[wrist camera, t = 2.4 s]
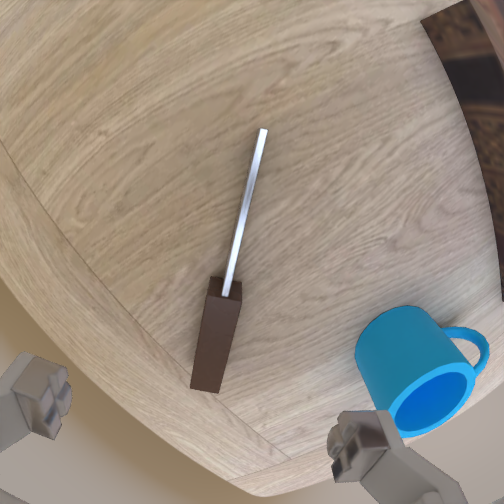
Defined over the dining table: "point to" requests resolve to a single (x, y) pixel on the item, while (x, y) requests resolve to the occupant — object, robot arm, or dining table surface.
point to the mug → (417, 368)
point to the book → (478, 87)
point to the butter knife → (224, 295)
